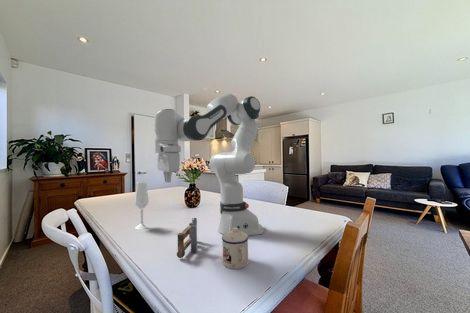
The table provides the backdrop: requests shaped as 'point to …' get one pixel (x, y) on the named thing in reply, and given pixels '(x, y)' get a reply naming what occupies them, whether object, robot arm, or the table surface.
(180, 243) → the gate
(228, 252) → the teacup with lid
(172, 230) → the table surface
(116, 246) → the table surface
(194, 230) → the posts
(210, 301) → the table surface
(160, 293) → the table surface
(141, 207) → the champagne flute
